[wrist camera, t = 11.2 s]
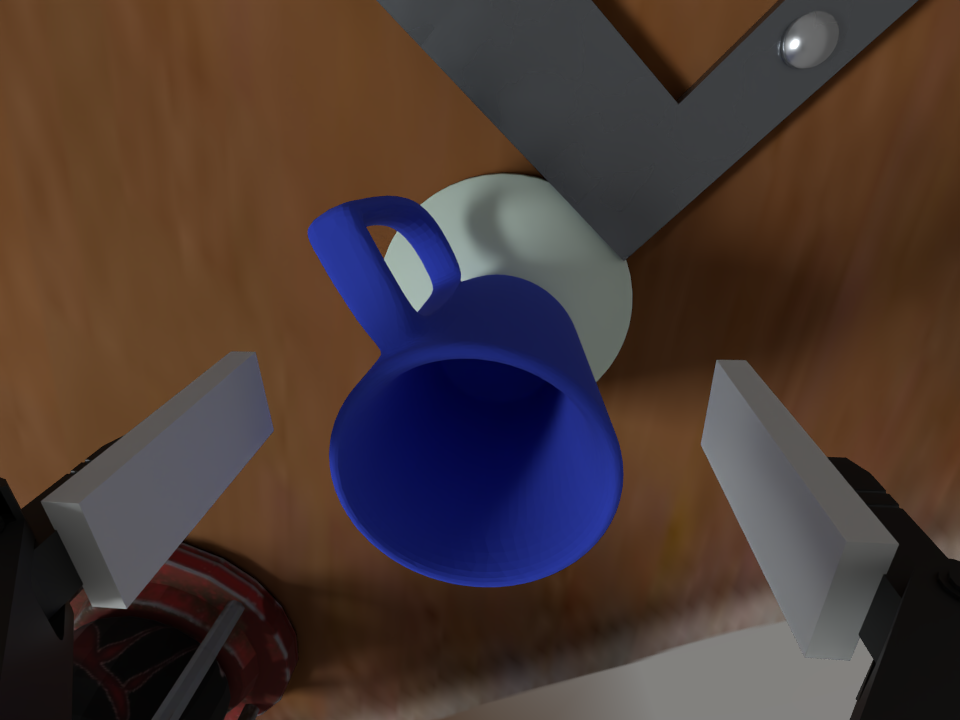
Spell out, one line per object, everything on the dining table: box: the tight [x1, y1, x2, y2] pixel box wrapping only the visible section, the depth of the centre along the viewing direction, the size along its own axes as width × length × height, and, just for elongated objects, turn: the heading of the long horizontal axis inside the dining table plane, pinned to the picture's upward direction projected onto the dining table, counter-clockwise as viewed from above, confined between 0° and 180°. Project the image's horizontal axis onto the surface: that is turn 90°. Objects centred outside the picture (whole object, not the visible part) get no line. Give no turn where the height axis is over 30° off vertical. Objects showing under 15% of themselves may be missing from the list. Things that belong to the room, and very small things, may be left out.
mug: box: [308, 196, 623, 587], centre depth 18 cm, size 8×12×10 cm
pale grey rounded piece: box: [384, 173, 633, 382], centre depth 23 cm, size 11×11×1 cm
